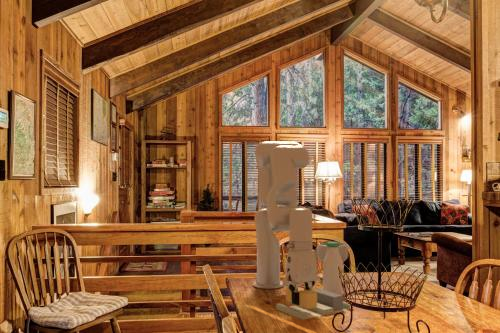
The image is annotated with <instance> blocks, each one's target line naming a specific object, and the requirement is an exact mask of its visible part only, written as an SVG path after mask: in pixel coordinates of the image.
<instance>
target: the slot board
mask: <svg viewBox="0 0 500 333" xmlns="http://www.w3.org/2000/svg"><path fill="white" fill-rule="evenodd" d="M346 302H347V301H344V300H343V310H338V311H334V309H333V308H332V307H329V306H326V305H323V304H320V303H317V307H314V308H309V309H306V308H304V307H301V306H298V305H295V304H293V305H290V306H289V305H288V306H287V305H285V304H282V303H281V302H280V303H276V304H275V310H277V311H281V312H283V313H286V314H288V315H290V316H293V317H295V318H298V319H300V320H303V321H304V320H308V319H311V318H318V317H323V316H326V315H331V314H337V313H341V312H347V311H351V310H350V305H349V304H347V303H348V302H347V303H346Z"/></svg>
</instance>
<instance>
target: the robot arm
mask: <svg viewBox="0 0 500 333" xmlns="http://www.w3.org/2000/svg"><path fill="white" fill-rule="evenodd" d="M254 153H255V154H254V155H255V162H256V165H257V167H258V168H257V169H258V201H259V202H260V205H263V206H265V207H266V208H261V209H258V210H257V211H256V212H255V213H254V218H253V219H254V220H253V221H254V224H255V225H254V227H255V231H256V233H255V235H256V273H255V274H253V277H254V278H255V279H256V280H255V281H253V283H252V285H253V287H254V288H255V287H256V288H258V289H267V290H270V289H271V290H272V289H279V288H283V287H284V286H285V287H288V288H289V289H290V291H291V294H292V303H291V304H293V305H299V292H298V287H300V286H299V284H303V285H304V287H303V288H304V289H307V290H310V291H312V290H313V287H314V286H315V285H316V283H317V282H318V281H319V279H320V278H319V275H318V273H319V272H318V261H317V253H316V250H315V249H313V211H312V209H311V208H308V207H305V206H303V205H302V206H301V205H300V206H299V205H298V190H297V187H296V186H297V185H298V183H299V178H298V174H297V169H305V168H306V167H307V166H308V165H309V161H310V156H309V153H308V150H307V148H306V147H305V146H304V145H302V144H300V143H298V142H296V141H262V142H259V143H257V144H256V146H255V150H254ZM276 232H278V233H279V232H288V237H289V238H288V241H289V242H288V243H287V244H286V248H287V249H289V250H287V254H286V262H285V277H284V278H283V281H282V280H281V244H280V240H279V238H278V237H277V235H275V233H276Z"/></svg>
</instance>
